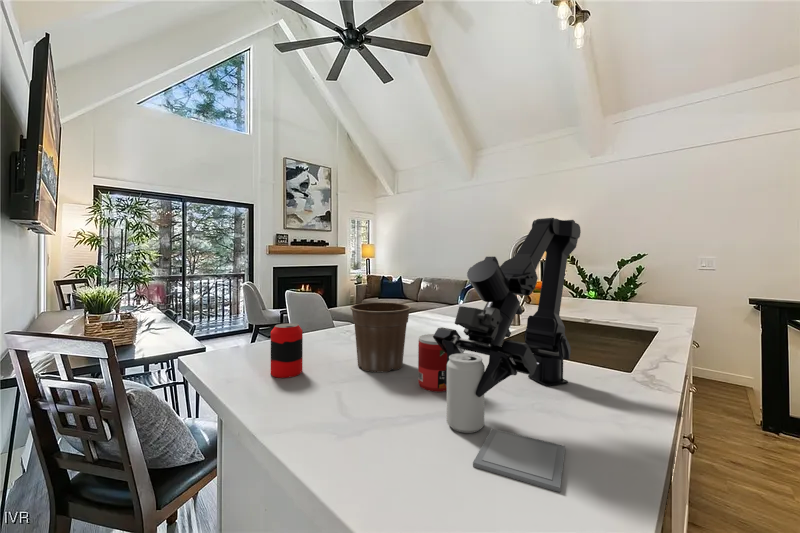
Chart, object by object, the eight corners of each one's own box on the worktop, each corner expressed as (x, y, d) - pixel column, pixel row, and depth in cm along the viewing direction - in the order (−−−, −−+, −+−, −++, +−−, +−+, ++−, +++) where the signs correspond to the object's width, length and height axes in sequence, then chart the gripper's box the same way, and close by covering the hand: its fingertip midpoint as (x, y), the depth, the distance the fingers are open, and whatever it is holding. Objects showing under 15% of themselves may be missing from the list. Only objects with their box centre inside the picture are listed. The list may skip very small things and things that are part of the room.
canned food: (444, 395, 73) (444, 343, 73) (411, 387, 78) (412, 338, 77) (458, 384, 80) (458, 336, 80) (427, 377, 84) (427, 332, 84)
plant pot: (411, 376, 85) (411, 310, 85) (345, 375, 85) (345, 310, 85) (410, 357, 101) (410, 302, 101) (354, 356, 101) (355, 302, 101)
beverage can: (484, 437, 56) (485, 363, 56) (445, 433, 57) (445, 360, 57) (483, 419, 62) (484, 353, 62) (447, 416, 63) (448, 351, 63)
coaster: (492, 431, 58) (492, 427, 58) (565, 449, 52) (565, 445, 52) (472, 466, 48) (472, 461, 48) (559, 492, 43) (560, 486, 43)
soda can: (276, 380, 81) (276, 329, 81) (266, 372, 87) (266, 324, 87) (307, 374, 86) (307, 326, 86) (295, 366, 92) (295, 321, 92)
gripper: (439, 286, 69) (398, 352, 61) (530, 293, 55) (491, 378, 48) (462, 321, 74) (428, 385, 67) (550, 335, 61) (518, 417, 53)
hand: (461, 390), depth 59 cm, fingers closed on beverage can, 6 cm apart
